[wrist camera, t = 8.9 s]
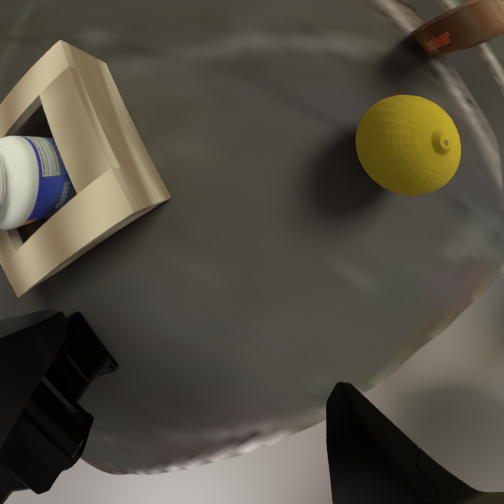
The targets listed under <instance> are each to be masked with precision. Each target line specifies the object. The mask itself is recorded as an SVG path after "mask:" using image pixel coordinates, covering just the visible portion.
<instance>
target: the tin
mask: <svg viewBox="0 0 504 504" xmlns="http://www.w3.org/2000/svg"><path fill="white" fill-rule="evenodd" d="M503 33H504V0H471V1H469V2H467V3H464V4H462V5H460V6H457V7H456V8H454V9H451V10H450V11H448V12H446V13H444V14H442V15H440V16H438V17H437V18H435V19H433V20H431V21H429V22H427V23H425V24H424V25H422V26H420V27H419V28H417V29H416V30H414V31H412V32H411V35H413V36H414V37H415V38H416V39H417V41H418V42H419V43H420V45H421V46H422V47H423V49H424V50H425V51H426V53H427V54H428V55H429V56H430V57H431V58H432V59H434V60H437V59H439V58H441V57H442V56H443V55H445V54H448V53H450V52H453V51H456V50H462V49H467V48H471V47H474V46H476V45H479V44H481V43H484V42H486V41H488V40H491V39H493V38H495V37H497V36H499V35H501V34H503Z"/></svg>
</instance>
